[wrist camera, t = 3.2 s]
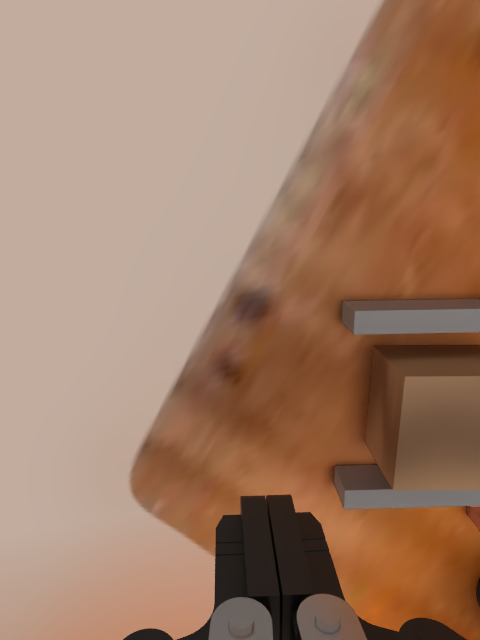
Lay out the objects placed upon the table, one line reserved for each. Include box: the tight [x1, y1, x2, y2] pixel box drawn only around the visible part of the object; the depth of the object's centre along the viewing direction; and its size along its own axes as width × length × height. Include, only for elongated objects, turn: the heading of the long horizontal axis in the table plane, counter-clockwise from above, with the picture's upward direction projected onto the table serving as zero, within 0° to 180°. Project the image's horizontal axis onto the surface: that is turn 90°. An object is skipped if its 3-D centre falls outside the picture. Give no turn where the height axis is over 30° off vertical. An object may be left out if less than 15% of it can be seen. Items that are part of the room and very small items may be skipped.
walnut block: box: [365, 345, 480, 491], centre depth 20 cm, size 5×5×4 cm
